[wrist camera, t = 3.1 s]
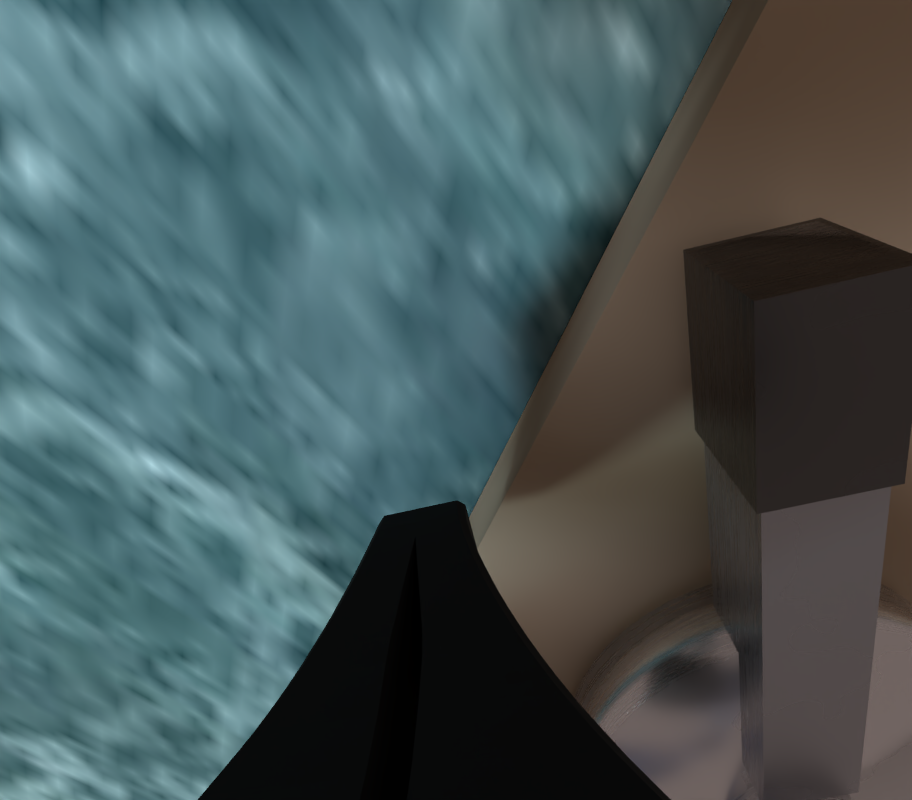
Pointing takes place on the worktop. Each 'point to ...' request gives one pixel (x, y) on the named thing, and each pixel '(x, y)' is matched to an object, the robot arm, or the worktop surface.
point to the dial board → (666, 323)
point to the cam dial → (783, 535)
